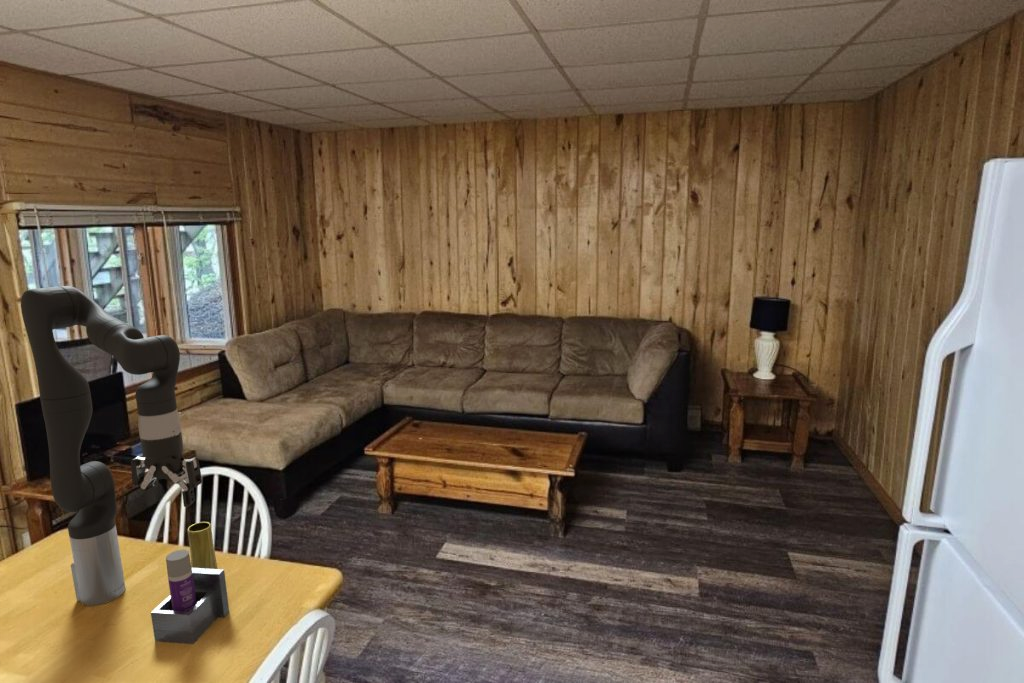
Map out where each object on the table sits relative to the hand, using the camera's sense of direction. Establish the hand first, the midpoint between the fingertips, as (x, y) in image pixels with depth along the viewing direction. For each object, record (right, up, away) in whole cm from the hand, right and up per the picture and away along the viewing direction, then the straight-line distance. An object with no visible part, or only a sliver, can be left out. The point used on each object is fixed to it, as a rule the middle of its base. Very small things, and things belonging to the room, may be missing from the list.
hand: (170, 504), depth 131 cm
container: (0, -27, +6) cm, 27 cm away
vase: (-5, -26, +25) cm, 37 cm away
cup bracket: (+1, -29, +7) cm, 30 cm away
